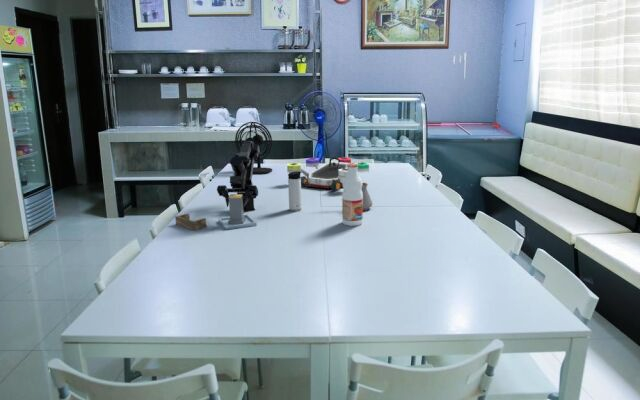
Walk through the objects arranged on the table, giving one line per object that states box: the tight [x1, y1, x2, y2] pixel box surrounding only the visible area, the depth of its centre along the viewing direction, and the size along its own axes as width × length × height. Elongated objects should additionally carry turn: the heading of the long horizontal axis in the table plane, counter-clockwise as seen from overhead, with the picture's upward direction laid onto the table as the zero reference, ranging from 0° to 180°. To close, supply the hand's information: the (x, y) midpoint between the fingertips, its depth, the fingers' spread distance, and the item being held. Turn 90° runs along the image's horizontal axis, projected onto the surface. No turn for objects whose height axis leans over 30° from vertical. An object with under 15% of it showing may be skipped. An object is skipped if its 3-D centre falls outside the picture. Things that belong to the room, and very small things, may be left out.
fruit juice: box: [341, 162, 364, 227], centre depth 237 cm, size 9×9×28 cm
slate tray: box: [217, 214, 258, 231], centre depth 243 cm, size 15×15×2 cm
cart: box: [286, 156, 370, 192], centre depth 318 cm, size 45×39×16 cm
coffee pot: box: [331, 179, 374, 211], centre depth 263 cm, size 21×12×15 cm, turn 79°
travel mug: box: [287, 171, 302, 212], centre depth 261 cm, size 6×7×20 cm
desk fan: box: [234, 121, 273, 175], centre depth 352 cm, size 27×18×35 cm, turn 74°
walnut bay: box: [174, 213, 207, 231], centre depth 240 cm, size 7×14×4 cm, turn 49°
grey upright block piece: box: [228, 193, 246, 224], centre depth 241 cm, size 6×7×13 cm
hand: (235, 206), depth 239 cm, fingers open, 7 cm apart
